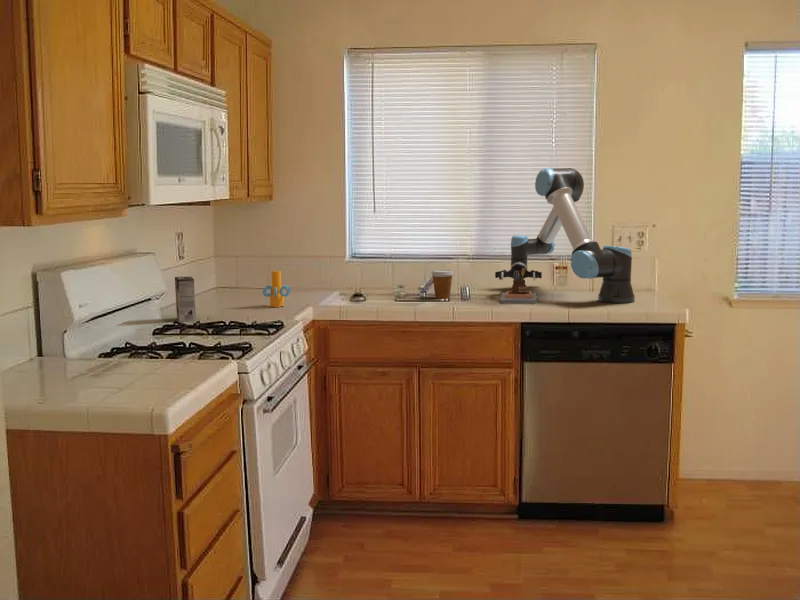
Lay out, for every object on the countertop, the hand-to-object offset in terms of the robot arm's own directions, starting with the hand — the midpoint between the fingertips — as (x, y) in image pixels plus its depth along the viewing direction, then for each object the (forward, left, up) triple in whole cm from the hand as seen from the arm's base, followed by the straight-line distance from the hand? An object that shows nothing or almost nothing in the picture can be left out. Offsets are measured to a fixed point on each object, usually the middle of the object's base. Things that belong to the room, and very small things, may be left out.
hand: (518, 277), depth 376 cm
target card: (-1, 0, -10) cm, 10 cm away
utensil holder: (-1, 0, -8) cm, 8 cm away
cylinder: (+43, +94, -10) cm, 104 cm away
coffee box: (+33, +136, -10) cm, 140 cm away
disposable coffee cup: (+23, +24, -10) cm, 34 cm away
